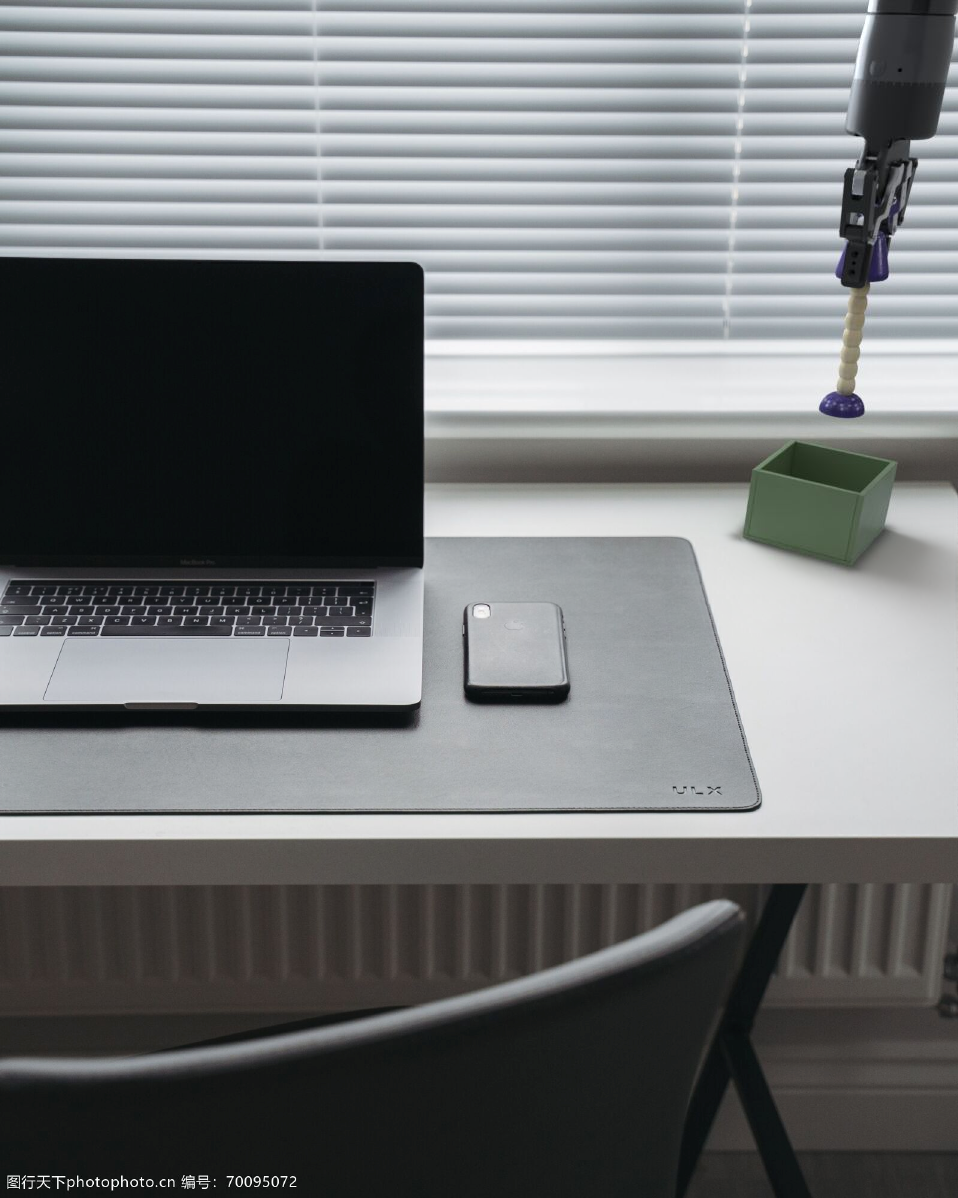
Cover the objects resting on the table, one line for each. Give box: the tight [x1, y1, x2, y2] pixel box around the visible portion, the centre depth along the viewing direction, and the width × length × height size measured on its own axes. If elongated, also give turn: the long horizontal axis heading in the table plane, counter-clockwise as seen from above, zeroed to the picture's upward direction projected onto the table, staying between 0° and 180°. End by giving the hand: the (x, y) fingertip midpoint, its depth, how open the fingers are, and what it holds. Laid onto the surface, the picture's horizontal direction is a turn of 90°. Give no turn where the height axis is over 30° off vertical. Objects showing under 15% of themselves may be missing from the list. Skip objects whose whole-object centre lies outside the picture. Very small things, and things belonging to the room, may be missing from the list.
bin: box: [742, 438, 899, 567], centre depth 113 cm, size 11×11×8 cm
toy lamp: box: [818, 231, 890, 419], centre depth 103 cm, size 5×5×17 cm
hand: (862, 280), depth 101 cm, fingers closed on toy lamp, 4 cm apart
